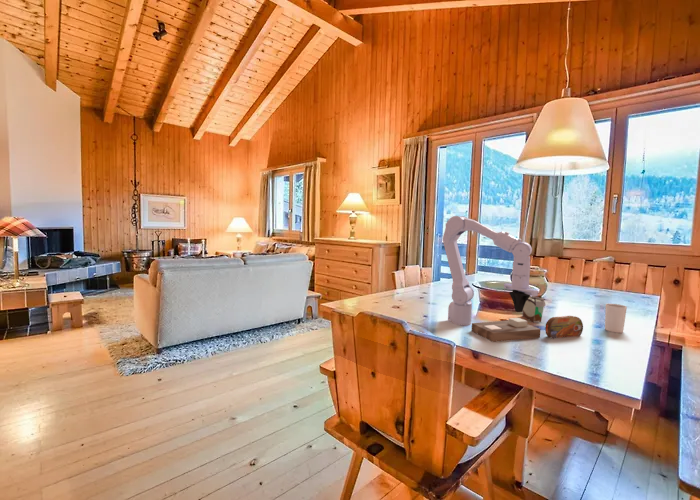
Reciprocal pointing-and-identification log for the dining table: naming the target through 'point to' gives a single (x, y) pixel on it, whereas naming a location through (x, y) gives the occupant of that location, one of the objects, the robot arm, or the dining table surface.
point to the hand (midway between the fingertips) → (518, 311)
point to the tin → (564, 327)
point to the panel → (505, 331)
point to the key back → (517, 322)
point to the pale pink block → (492, 327)
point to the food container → (534, 309)
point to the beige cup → (615, 317)
